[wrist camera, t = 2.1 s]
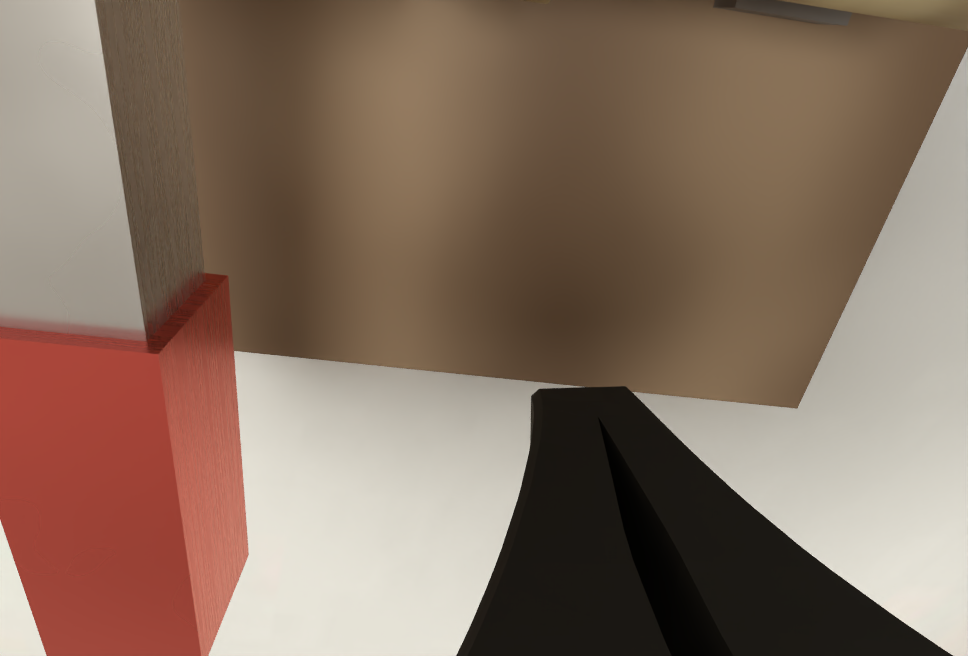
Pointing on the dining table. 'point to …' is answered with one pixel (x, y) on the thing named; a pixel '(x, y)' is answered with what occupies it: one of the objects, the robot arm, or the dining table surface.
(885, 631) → the robot arm
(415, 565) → the dining table surface
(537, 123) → the valve board
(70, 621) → the valve lever
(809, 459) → the dining table surface
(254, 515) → the dining table surface
